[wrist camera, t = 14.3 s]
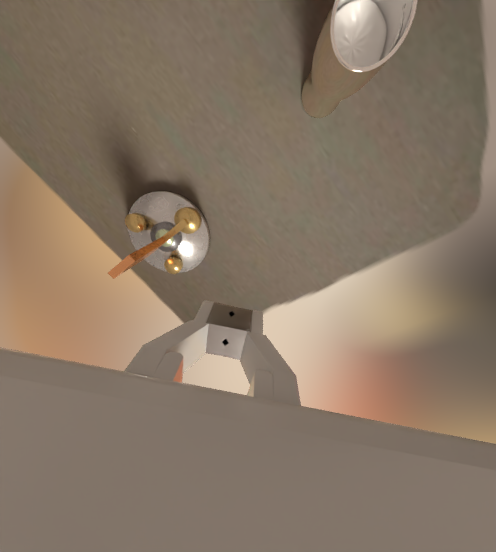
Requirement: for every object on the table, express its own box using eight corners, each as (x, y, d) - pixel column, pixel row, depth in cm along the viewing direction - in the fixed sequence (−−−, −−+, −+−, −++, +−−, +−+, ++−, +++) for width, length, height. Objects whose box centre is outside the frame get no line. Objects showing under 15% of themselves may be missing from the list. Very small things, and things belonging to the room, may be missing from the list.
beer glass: (353, 99, 28) (432, 27, 15) (311, 132, 31) (347, 95, 17) (334, 46, 26) (406, -94, 13) (289, 86, 28) (313, 3, 15)
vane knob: (190, 201, 35) (157, 210, 24) (206, 222, 37) (182, 240, 26) (143, 241, 40) (98, 264, 29) (159, 259, 41) (122, 286, 30)
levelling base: (116, 207, 39) (104, 209, 36) (188, 177, 35) (181, 177, 32) (158, 277, 46) (151, 283, 43) (222, 258, 42) (219, 264, 39)
